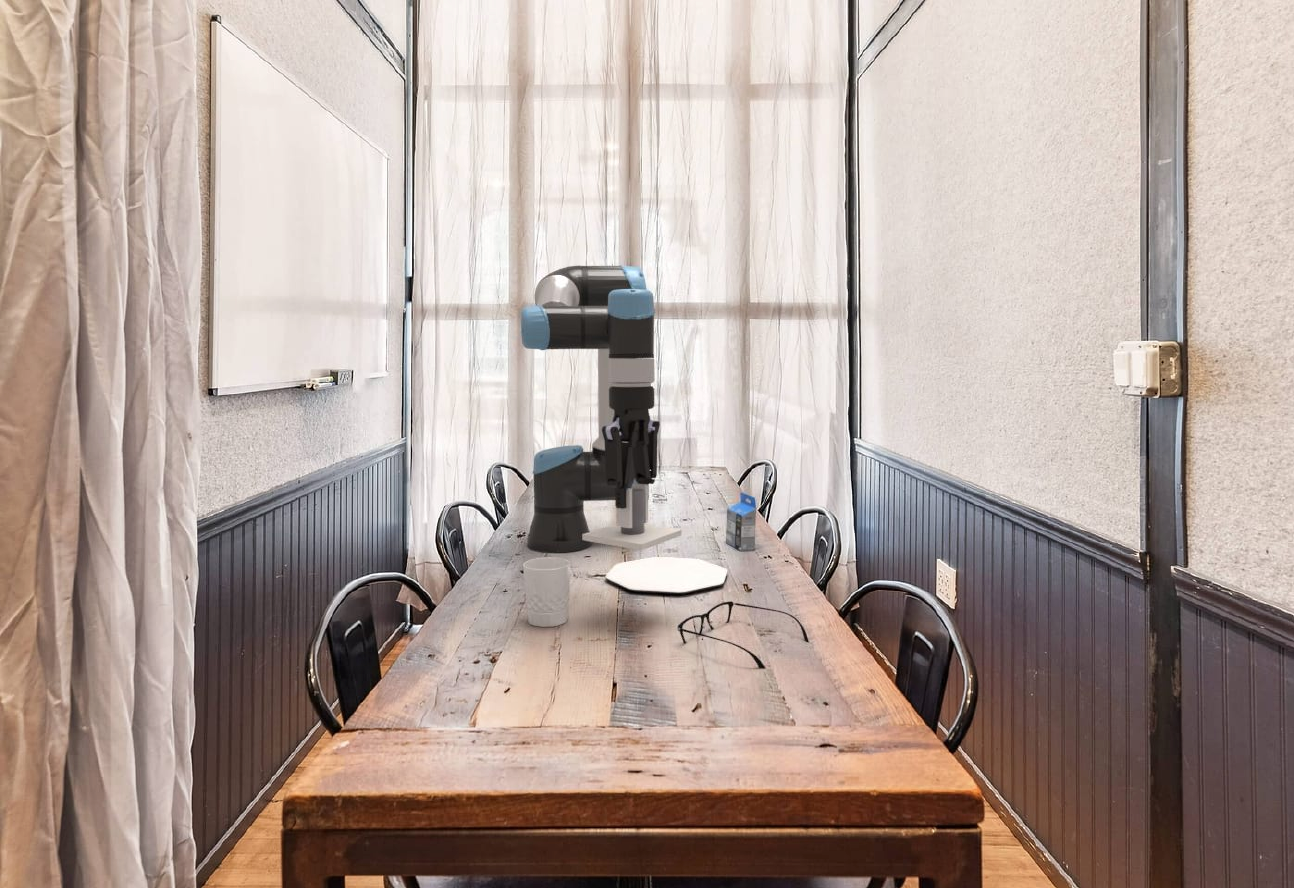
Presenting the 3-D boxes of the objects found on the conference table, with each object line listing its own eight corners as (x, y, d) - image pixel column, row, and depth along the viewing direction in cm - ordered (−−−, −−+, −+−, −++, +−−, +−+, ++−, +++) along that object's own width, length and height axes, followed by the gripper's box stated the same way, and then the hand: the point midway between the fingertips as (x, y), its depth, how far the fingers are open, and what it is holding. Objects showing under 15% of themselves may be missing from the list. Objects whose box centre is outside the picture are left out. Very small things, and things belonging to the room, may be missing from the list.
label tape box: (725, 542, 182) (725, 492, 181) (740, 541, 183) (741, 491, 182) (740, 551, 174) (740, 498, 172) (756, 550, 175) (757, 497, 174)
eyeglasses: (731, 620, 130) (731, 597, 130) (815, 641, 120) (815, 617, 120) (671, 648, 118) (671, 623, 117) (760, 675, 108) (760, 648, 107)
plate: (719, 601, 140) (719, 593, 139) (595, 594, 144) (595, 586, 144) (731, 567, 163) (731, 560, 162) (623, 561, 167) (623, 555, 167)
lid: (624, 526, 137) (624, 482, 136) (681, 535, 130) (681, 489, 129) (582, 540, 127) (581, 492, 126) (641, 550, 120) (641, 500, 119)
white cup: (563, 630, 125) (561, 570, 123) (517, 627, 126) (516, 568, 125) (577, 614, 132) (576, 558, 131) (533, 611, 134) (532, 556, 133)
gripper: (642, 382, 134) (642, 512, 137) (581, 386, 120) (583, 531, 123) (678, 383, 130) (678, 517, 133) (619, 387, 116) (620, 537, 119)
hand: (632, 524), depth 128 cm, fingers closed on lid, 4 cm apart
